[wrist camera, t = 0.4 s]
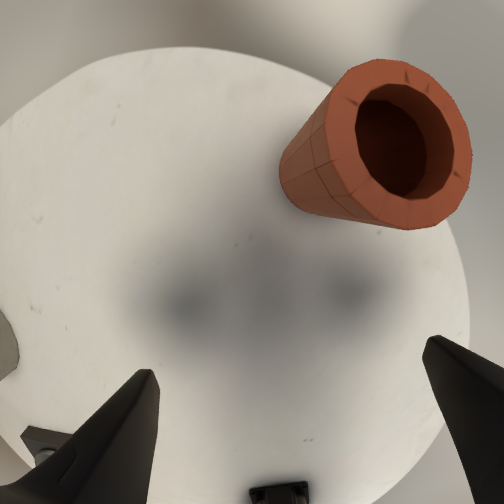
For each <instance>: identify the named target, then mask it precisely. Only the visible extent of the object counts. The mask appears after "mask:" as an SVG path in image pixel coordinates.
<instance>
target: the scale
mask: <svg viewBox="0 0 504 504" xmlns="http://www.w3.org/2000/svg"><path fill="white" fill-rule="evenodd" d="M20 437H21V439H22V440H23V442H24V443H25V445H26V447H27V448H28V450H29V451H30V453H31V454H32V456H33V457H34V458H35V457H36V455H37V454H38V452H40V451H42V450H52V451H56V450H57V449H58V448H59V447H60V446H61V445H62V444H63V443H64V442H65V441H67V440H68V439H69V438H70V437H72V435H71V434H65V433H59V432H54V431H49V430H44V429H39V428H35V427H31V426H28V427H27V428H26V430H25V431H24V432H23V433H22V434H21V435H20Z"/></svg>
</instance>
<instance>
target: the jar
mask: <svg viewBox="0 0 504 504" xmlns="http://www.w3.org/2000/svg"><path fill="white" fill-rule="evenodd" d="M472 156H473V155H472V149H471V143H470V138H469V132H468V128H467V126H466V123H465V121H464V119H463V117H462V115H461V113H460V111H459V109H458V108H457V105H456V104H455V102H454V100H453V99H452V97H451V96H450V95H449V94H448V93H447V92H446V90H444V89H443V88H442V86H441V85H440V84H439V83H438V82H437V81H436V80H435V79H434V78H433V77H431V76H430V75H429V74H427V73H425V72H424V71H421V70H420V69H418V68H416V67H414V66H412V65H410V64H408V63H406V62H403V61H394V60H385V59H376V60H371V61H368V62H366V63H363V64H360V65H358V66H355V67H353V68H351V69H349V70H348V71H347V72H346V73H345V74H344V76H343V77H342V78H341V79H340V80H339V82H338V83H337V84H336V85H335V86H334V88H333V89H332V90H331V91H330V92H329V94H328V95H327V96H326V98H325V99H324V100H323V101H322V103H321V104H320V105H319V106H318V108H317V109H316V110H315V112H314V113H313V114H312V115H311V117H310V118H309V119H308V121H307V122H306V123H305V124H304V126H303V127H302V128H301V130H300V131H299V132H298V134H297V135H296V136H295V137H294V139H293V140H292V141H291V143H290V144H289V145H288V147H287V148H286V149H285V151H284V152H283V155H282V158H281V161H280V166H279V177H280V182H281V185H282V188H283V190H284V192H285V194H286V196H287V197H288V198H289V200H290V201H291V202H292V203H293V204H294V205H296V206H297V207H298V208H300V209H301V210H303V211H305V212H308V213H311V214H316V215H319V216H325V217H331V218H337V219H344V220H350V221H356V222H362V223H367V224H373V225H379V226H384V227H390V228H395V229H401V230H415V229H421V228H428V227H432V226H436V225H437V224H439V223H440V222H441V221H443V220H444V219H445V218H447V217H448V216H449V215H451V214H452V213H453V212H455V210H456V209H457V207H458V206H459V204H460V202H461V200H462V199H463V197H464V195H465V193H466V191H467V189H468V187H469V186H468V185H469V181H470V174H471V166H472Z"/></svg>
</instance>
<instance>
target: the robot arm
mask: <svg viewBox="0 0 504 504" xmlns="http://www.w3.org/2000/svg"><path fill="white" fill-rule="evenodd" d="M422 360H423V364H424V366H425V369H426V372H427V375H428V378H429V381H430V384H431V387H432V390H433V393H434V396H435V398H436V400H437V403H438V405H439V407H440V410H441V412H442V414H443V417H444V419H445V421H446V424H447V426H448V429H449V431H450V434H451V436H452V438H453V441H454V444H455V446H456V449H457V451H458V454H459V457H460V459H461V462H462V465H463V468H464V471H465V474H466V477H467V480H468V483H469V486H470V488H471V492H472V496H473V499H474V502H475V504H504V368H502V367H500V366H499V365H497V364H495V363H493V362H491V361H489V360H487V359H485V358H483V357H481V356H479V355H478V354H476V353H474V352H472V351H470V350H468V349H466V348H464V347H462V346H460V345H458V344H456V343H454V342H453V341H451V340H449V339H447V338H445V337H443V336H441V335H435V336H431V337H429V338H428V340H427V343H426V346H425V349H424V352H423V355H422ZM159 401H160V388H159V385H158V382H157V380H156V377H155V375H154V372H153V371H152V370H151V369H139V370H138V371H137V372H136V373H135V374H134V375H133V376H132V377H131V378H130V379H129V380H128V381H127V382H126V383H125V384H124V385H123V386H122V387H121V388H120V389H119V390H118V391H117V392H116V393H115V394H114V395H112V396H111V397H110V398H109V399H108V400H107V401H106V402H105V403H104V404H103V405H102V406H101V407H100V408H99V409H98V410H97V411H96V412H95V413H94V414H93V415H92V416H91V417H90V418H89V419H88V420H87V421H86V422H85V423H84V424H83V425H82V426H81V427H80V428H79V429H78V430H77V431H76V432H75V433H74V434H73V435H72V437H70V438H69V439H68V440H67V441H65V442H64V443H63V444H62V445H61V446H60V447H59V448H58V449H57V450H56V451H55V452H54V453H52V454H51V455H50V456H49V457H48V458H46V459H45V460H44V461H43V462H41V463H40V464H39V465H37V466H36V467H35V468H34V469H32V470H31V471H30V472H28V473H27V474H26V475H25V476H23V477H22V478H20V479H19V480H17V481H16V482H14V483H11V484H8V485H4V486H0V504H146V502H147V495H148V488H149V481H150V475H151V469H152V463H153V457H154V451H155V445H156V439H157V432H158V416H159ZM249 494H250V498H251V501H252V504H309V491H308V483H307V482H299V483H293V484H287V485H280V486H272V487H264V488H254V489H250V490H249Z"/></svg>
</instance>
